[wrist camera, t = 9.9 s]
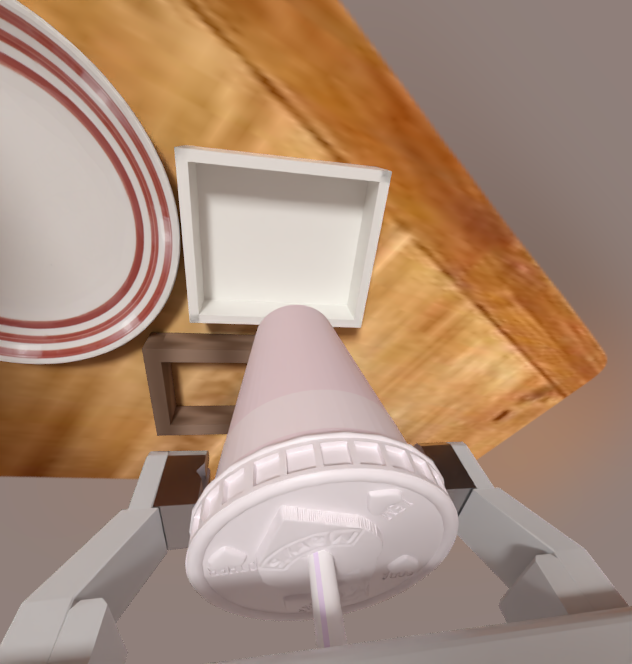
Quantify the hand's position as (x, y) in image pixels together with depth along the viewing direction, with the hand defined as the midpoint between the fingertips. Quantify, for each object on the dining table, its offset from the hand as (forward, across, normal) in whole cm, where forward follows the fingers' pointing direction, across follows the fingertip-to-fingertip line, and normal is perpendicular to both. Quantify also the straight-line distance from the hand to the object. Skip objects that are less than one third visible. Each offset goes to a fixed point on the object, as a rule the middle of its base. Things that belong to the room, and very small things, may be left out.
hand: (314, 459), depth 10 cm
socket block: (+24, +5, +16) cm, 30 cm away
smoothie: (+7, 0, 0) cm, 7 cm away
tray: (+24, 0, 0) cm, 25 cm away
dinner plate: (+25, +22, -1) cm, 33 cm away
